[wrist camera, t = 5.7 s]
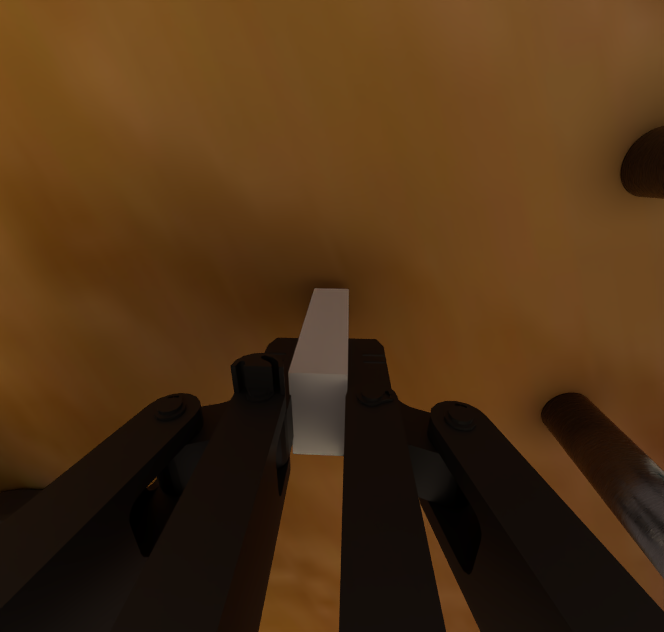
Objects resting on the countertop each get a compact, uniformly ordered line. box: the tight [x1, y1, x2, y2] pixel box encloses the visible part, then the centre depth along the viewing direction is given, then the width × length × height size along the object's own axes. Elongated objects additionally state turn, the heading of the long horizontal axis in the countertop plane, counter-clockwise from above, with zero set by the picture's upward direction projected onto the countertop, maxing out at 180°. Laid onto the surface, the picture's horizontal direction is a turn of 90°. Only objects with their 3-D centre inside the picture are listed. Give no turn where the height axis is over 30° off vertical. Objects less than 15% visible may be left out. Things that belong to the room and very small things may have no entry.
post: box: [542, 393, 664, 578], centre depth 14 cm, size 3×3×9 cm
